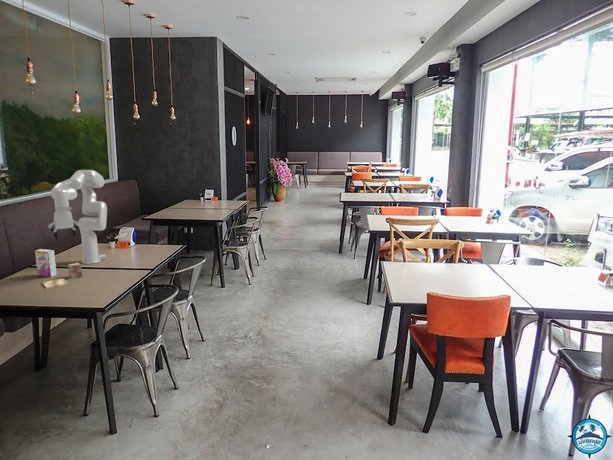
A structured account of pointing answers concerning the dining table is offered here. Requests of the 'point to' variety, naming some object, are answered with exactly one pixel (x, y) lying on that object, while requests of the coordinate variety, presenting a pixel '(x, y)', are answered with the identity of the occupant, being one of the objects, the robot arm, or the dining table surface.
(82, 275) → the tile
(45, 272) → the candy bar box
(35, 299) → the dining table surface
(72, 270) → the walnut block
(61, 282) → the cork pad
